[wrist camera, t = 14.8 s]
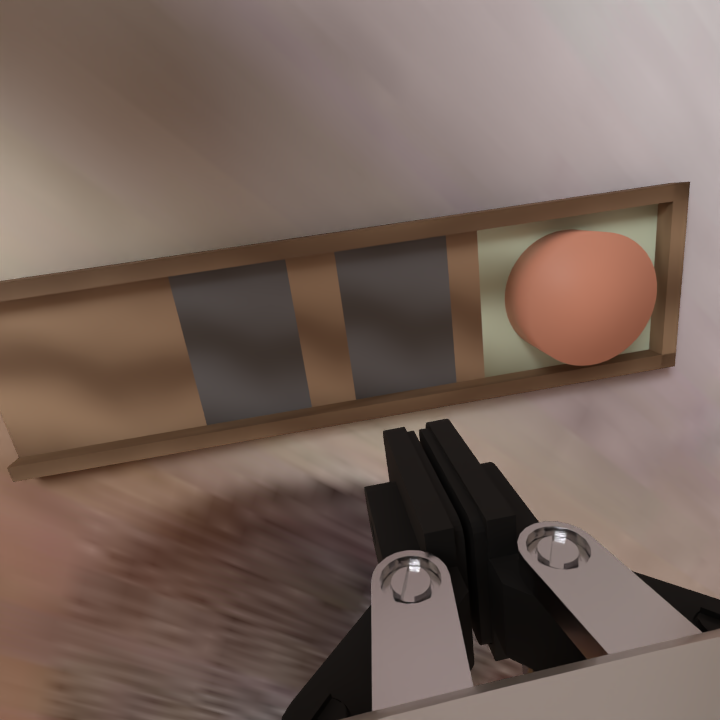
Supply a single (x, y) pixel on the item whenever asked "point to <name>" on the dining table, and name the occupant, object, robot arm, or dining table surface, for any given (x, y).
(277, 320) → the trap lane
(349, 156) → the dining table surface
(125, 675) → the dining table surface
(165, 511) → the dining table surface
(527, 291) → the salmon rounded disc
